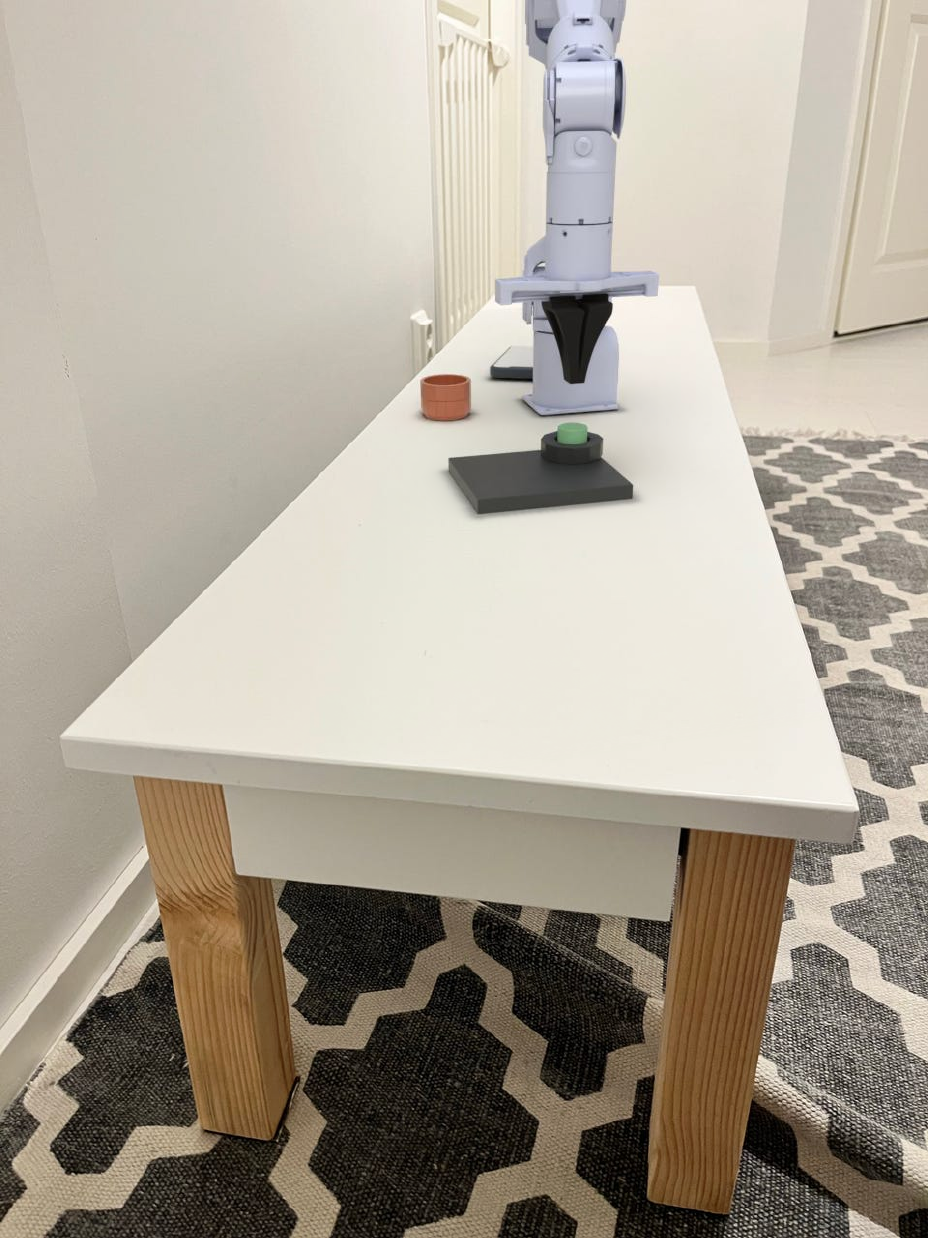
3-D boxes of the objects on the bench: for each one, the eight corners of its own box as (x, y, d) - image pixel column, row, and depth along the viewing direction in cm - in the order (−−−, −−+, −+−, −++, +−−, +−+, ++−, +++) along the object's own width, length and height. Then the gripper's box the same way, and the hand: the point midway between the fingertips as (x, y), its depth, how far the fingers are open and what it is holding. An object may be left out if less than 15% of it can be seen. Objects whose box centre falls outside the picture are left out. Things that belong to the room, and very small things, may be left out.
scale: (589, 457, 96) (590, 428, 95) (636, 499, 85) (638, 466, 84) (447, 470, 93) (446, 440, 92) (477, 515, 83) (477, 481, 81)
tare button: (581, 437, 93) (581, 421, 93) (591, 445, 91) (591, 429, 90) (553, 439, 93) (553, 423, 92) (562, 447, 90) (562, 431, 90)
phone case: (509, 356, 140) (487, 379, 126) (509, 344, 139) (487, 367, 125) (571, 358, 138) (555, 382, 124) (571, 346, 137) (556, 369, 123)
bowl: (464, 406, 114) (464, 372, 112) (475, 419, 109) (475, 383, 107) (417, 410, 113) (416, 376, 111) (427, 423, 108) (425, 387, 106)
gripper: (509, 229, 78) (509, 397, 84) (677, 222, 81) (665, 385, 87) (488, 222, 84) (489, 379, 91) (645, 216, 87) (635, 368, 93)
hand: (574, 381), depth 89 cm, fingers closed
